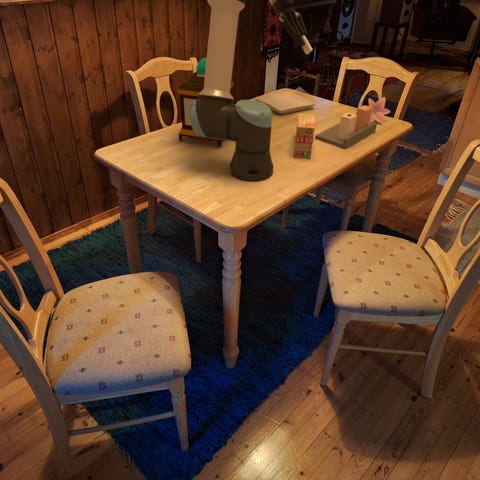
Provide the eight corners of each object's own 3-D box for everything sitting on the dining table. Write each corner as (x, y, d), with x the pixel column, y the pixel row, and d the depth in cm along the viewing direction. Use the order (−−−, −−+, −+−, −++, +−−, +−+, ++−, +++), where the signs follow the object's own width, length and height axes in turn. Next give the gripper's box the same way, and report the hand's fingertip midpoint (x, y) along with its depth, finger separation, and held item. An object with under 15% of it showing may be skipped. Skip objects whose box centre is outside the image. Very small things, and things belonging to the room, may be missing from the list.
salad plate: (287, 97, 210) (288, 90, 208) (315, 110, 196) (316, 102, 194) (253, 104, 201) (253, 96, 199) (280, 118, 187) (280, 110, 185)
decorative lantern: (238, 131, 173) (240, 54, 155) (222, 150, 158) (222, 68, 140) (194, 124, 178) (190, 49, 160) (174, 143, 163) (168, 62, 145)
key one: (346, 141, 163) (350, 117, 158) (337, 138, 166) (341, 115, 160) (352, 137, 166) (357, 114, 161) (344, 134, 169) (348, 111, 163)
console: (345, 149, 161) (346, 139, 159) (315, 138, 169) (316, 129, 166) (375, 132, 176) (377, 122, 173) (346, 122, 183) (347, 114, 181)
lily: (353, 122, 187) (361, 107, 178) (364, 105, 191) (372, 90, 182) (377, 135, 185) (386, 121, 176) (387, 117, 190) (397, 103, 181)
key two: (361, 132, 171) (366, 110, 165) (353, 129, 173) (357, 107, 167) (367, 129, 174) (372, 107, 168) (359, 126, 176) (363, 104, 170)
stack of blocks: (295, 135, 172) (298, 105, 164) (310, 136, 171) (314, 106, 164) (293, 158, 155) (297, 126, 147) (310, 159, 154) (314, 127, 147)
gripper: (284, 5, 174) (312, 55, 175) (264, 8, 166) (293, 60, 167) (295, -9, 168) (324, 43, 169) (275, -6, 160) (306, 48, 161)
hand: (309, 52), depth 168 cm, fingers closed
